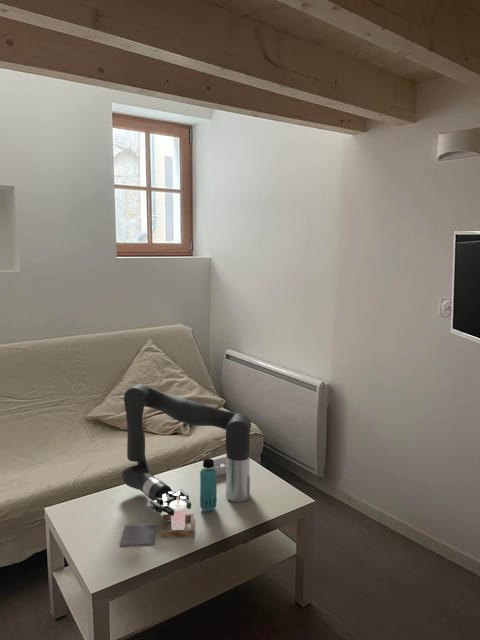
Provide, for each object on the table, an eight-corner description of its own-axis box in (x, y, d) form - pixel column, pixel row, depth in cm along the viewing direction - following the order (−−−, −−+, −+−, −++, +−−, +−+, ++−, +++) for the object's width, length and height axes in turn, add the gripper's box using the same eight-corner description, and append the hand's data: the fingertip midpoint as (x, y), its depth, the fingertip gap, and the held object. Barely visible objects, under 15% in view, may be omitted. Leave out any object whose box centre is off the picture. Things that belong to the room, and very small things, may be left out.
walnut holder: (193, 518, 180) (193, 513, 180) (193, 536, 169) (193, 531, 169) (163, 519, 179) (163, 514, 179) (161, 537, 168) (161, 532, 168)
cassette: (211, 477, 211) (211, 461, 210) (209, 476, 213) (209, 459, 211) (234, 471, 218) (235, 454, 216) (232, 469, 219) (232, 453, 218)
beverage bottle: (203, 516, 182) (204, 465, 178) (196, 507, 187) (197, 458, 184) (219, 512, 185) (220, 462, 181) (212, 503, 190) (212, 455, 187)
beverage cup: (167, 524, 176) (167, 488, 173) (183, 521, 178) (183, 485, 176) (172, 534, 170) (171, 497, 168) (188, 530, 173) (188, 493, 170)
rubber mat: (155, 526, 175) (155, 524, 175) (153, 545, 164) (153, 543, 164) (124, 527, 174) (124, 525, 174) (119, 546, 163) (119, 544, 163)
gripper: (139, 487, 178) (164, 506, 166) (173, 475, 188) (198, 493, 175) (140, 506, 180) (164, 527, 167) (173, 493, 189) (198, 512, 176)
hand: (181, 509), depth 171 cm, fingers open, 6 cm apart
